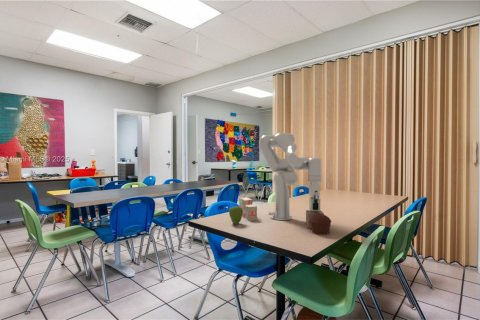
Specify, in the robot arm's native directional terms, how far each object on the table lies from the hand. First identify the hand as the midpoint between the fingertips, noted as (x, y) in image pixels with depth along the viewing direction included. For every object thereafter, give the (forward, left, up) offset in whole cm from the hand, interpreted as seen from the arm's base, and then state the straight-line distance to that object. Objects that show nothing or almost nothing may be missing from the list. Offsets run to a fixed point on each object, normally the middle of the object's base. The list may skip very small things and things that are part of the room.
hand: (314, 208), depth 162 cm
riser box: (0, 0, -11) cm, 11 cm away
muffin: (+1, -12, -11) cm, 16 cm away
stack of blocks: (-42, +23, -11) cm, 49 cm away
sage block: (0, 0, -1) cm, 1 cm away
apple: (-48, +4, -11) cm, 49 cm away
